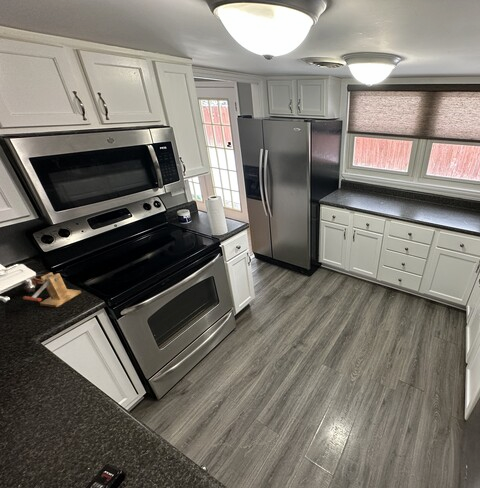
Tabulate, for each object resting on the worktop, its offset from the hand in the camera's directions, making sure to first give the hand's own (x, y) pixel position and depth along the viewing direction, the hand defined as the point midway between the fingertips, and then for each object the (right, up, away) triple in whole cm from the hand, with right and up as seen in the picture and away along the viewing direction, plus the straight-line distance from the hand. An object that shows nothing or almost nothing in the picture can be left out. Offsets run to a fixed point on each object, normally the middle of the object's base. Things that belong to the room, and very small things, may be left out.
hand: (20, 294), depth 119 cm
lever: (+6, +2, +5) cm, 8 cm away
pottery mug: (-12, -1, +19) cm, 22 cm away
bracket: (+6, -4, +12) cm, 14 cm away
